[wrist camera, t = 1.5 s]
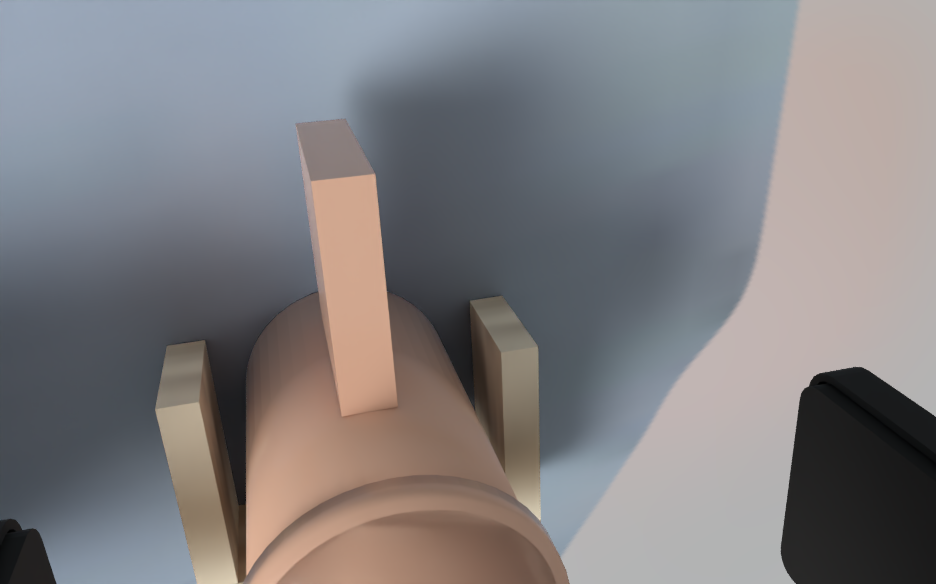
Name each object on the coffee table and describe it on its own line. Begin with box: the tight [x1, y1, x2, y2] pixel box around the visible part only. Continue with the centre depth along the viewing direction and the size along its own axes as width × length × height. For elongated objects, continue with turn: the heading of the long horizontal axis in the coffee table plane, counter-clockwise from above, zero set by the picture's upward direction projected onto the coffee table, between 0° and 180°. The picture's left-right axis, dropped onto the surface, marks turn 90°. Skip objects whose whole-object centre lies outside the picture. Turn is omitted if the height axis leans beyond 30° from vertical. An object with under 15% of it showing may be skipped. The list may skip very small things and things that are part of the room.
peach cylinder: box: [243, 119, 569, 584], centre depth 22 cm, size 13×8×12 cm, turn 3°
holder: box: [155, 296, 541, 584], centre depth 28 cm, size 8×11×4 cm
